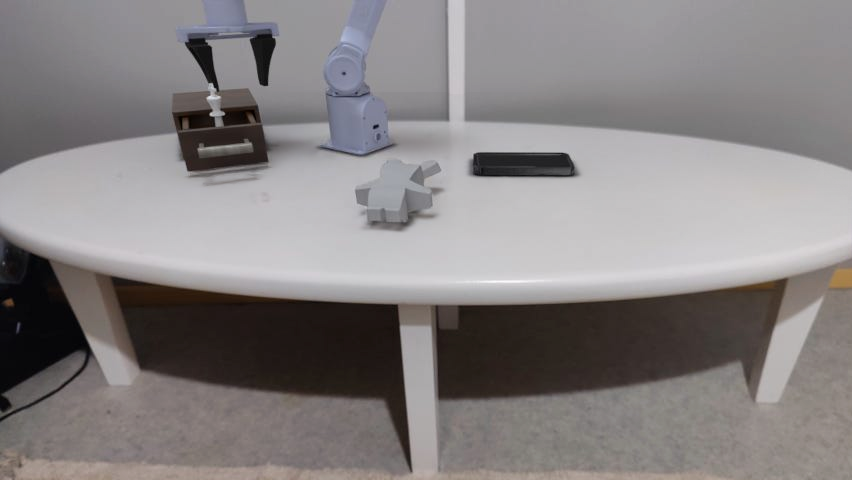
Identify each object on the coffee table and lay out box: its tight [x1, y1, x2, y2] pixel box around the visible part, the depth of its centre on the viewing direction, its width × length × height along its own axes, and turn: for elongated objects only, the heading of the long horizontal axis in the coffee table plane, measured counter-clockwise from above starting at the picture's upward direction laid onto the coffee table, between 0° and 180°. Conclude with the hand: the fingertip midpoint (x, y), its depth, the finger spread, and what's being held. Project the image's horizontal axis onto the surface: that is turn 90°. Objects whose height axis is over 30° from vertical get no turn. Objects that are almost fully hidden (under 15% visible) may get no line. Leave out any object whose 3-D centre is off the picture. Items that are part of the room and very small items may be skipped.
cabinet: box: [171, 87, 262, 159], centre depth 95 cm, size 15×12×7 cm
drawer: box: [177, 110, 270, 173], centre depth 85 cm, size 19×11×6 cm, turn 25°
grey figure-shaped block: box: [354, 157, 442, 223], centre depth 71 cm, size 10×5×15 cm
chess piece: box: [206, 83, 225, 127], centre depth 84 cm, size 5×5×10 cm
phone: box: [472, 151, 575, 176], centre depth 86 cm, size 8×1×15 cm
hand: (240, 88), depth 89 cm, fingers open, 7 cm apart
